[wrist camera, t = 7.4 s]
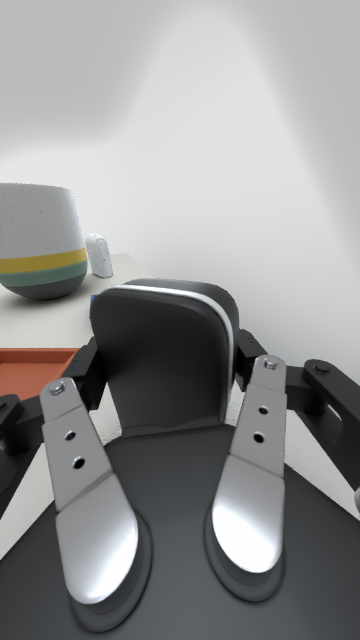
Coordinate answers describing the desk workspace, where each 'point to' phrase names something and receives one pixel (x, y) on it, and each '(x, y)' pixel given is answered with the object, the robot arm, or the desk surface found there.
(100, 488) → the robot arm
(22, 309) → the desk surface
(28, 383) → the terracotta tray
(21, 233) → the planter
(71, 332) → the desk surface
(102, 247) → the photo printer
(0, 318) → the desk surface
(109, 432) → the desk surface
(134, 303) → the battery charger
